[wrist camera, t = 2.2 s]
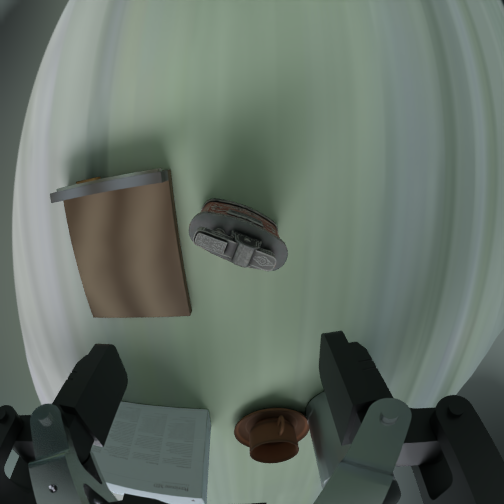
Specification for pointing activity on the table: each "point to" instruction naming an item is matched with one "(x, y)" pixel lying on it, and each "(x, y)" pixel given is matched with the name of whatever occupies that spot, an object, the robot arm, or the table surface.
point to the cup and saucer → (272, 433)
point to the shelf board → (127, 244)
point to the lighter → (238, 235)
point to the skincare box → (157, 453)
